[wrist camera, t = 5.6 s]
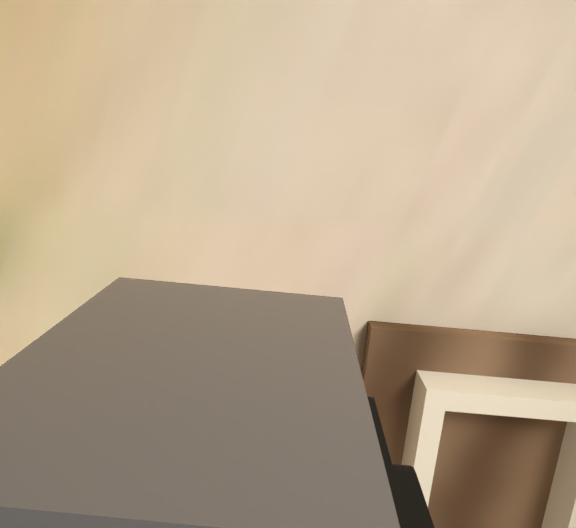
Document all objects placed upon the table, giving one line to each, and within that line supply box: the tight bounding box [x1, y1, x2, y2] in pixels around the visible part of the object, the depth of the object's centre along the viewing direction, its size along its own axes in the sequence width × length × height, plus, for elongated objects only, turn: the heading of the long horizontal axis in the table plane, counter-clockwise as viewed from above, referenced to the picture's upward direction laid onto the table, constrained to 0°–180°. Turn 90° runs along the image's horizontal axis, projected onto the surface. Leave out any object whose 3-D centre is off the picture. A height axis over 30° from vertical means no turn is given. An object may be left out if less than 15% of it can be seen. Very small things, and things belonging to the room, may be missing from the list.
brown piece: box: [362, 321, 576, 528], centre depth 26 cm, size 14×16×3 cm
